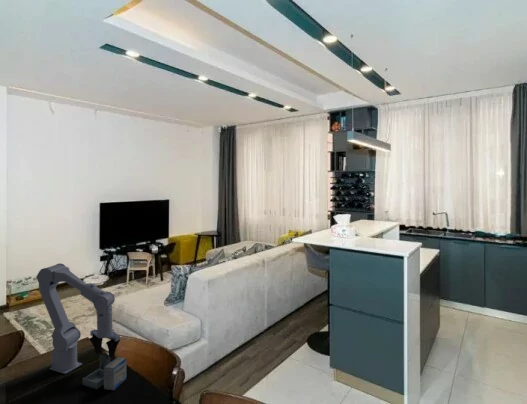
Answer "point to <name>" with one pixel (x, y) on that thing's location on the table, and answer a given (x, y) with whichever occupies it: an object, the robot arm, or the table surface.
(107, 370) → the medicine box
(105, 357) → the battery cell
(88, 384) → the trough
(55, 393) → the table surface
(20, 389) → the table surface
